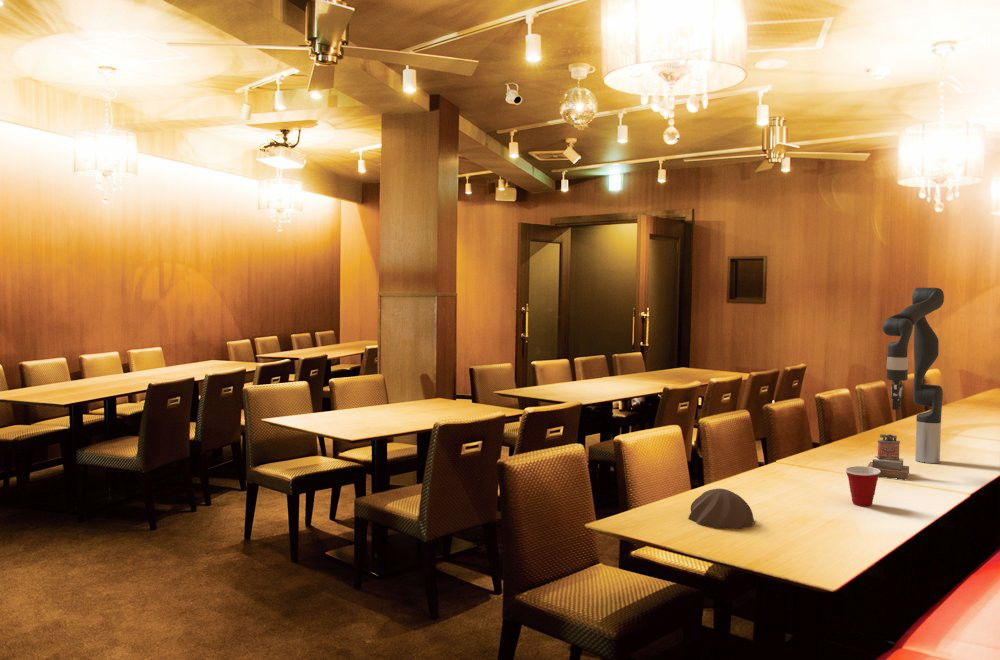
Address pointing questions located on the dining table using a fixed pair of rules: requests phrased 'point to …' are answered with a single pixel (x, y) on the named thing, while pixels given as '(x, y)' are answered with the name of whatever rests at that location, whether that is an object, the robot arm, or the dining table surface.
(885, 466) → the plinth
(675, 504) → the dining table surface
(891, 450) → the lighter
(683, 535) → the dining table surface
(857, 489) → the plastic cup
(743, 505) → the decorative dome
